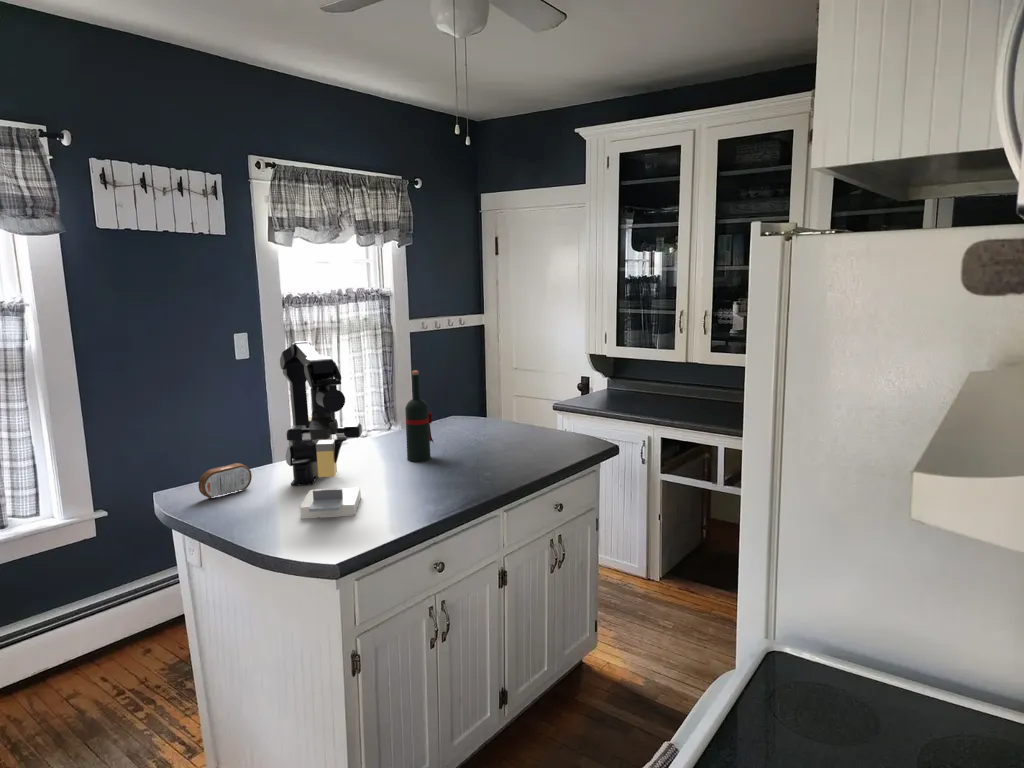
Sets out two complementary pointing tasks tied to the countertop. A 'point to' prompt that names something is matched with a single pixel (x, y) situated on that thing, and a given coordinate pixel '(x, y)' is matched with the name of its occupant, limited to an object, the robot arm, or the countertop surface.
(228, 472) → the tin
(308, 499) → the socket block
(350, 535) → the countertop surface
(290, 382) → the robot arm
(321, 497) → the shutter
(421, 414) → the wine bottle
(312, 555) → the countertop surface
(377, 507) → the countertop surface
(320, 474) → the plug
